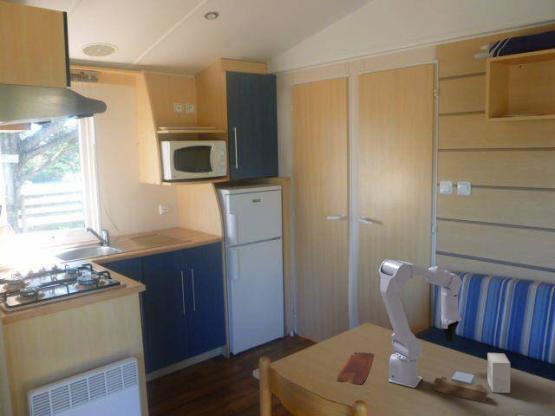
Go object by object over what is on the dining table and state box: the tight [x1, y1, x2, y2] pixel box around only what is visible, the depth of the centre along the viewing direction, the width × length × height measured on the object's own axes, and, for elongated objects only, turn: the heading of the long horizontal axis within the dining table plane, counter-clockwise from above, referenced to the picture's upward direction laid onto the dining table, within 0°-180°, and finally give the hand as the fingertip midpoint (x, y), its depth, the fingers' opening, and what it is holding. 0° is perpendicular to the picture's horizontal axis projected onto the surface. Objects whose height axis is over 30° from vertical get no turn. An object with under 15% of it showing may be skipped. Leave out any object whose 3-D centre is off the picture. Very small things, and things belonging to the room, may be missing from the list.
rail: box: [433, 376, 487, 403], centre depth 163 cm, size 16×4×4 cm, turn 56°
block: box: [451, 371, 476, 386], centre depth 165 cm, size 6×6×4 cm
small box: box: [486, 352, 511, 394], centre depth 165 cm, size 8×6×10 cm
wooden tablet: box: [336, 352, 375, 386], centre depth 185 cm, size 27×10×2 cm, turn 158°
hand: (449, 340), depth 180 cm, fingers closed
